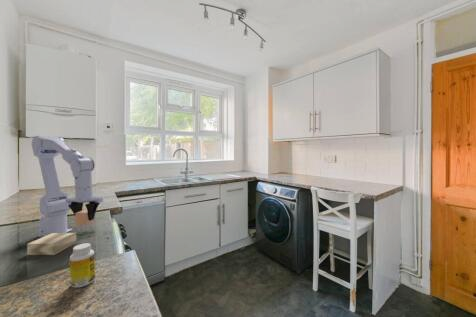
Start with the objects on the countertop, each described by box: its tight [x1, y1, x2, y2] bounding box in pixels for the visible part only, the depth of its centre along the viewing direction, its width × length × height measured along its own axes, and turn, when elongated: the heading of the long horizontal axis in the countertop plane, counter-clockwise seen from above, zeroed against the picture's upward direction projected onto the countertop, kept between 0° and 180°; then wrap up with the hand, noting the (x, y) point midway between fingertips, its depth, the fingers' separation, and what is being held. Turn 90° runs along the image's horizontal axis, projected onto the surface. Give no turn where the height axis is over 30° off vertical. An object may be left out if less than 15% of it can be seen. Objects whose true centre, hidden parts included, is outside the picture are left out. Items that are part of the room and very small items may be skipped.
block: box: [74, 209, 96, 226], centre depth 89 cm, size 5×5×5 cm
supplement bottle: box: [69, 242, 96, 289], centre depth 59 cm, size 6×6×10 cm
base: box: [26, 232, 77, 256], centre depth 81 cm, size 10×10×4 cm
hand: (85, 219), depth 89 cm, fingers closed on block, 5 cm apart
